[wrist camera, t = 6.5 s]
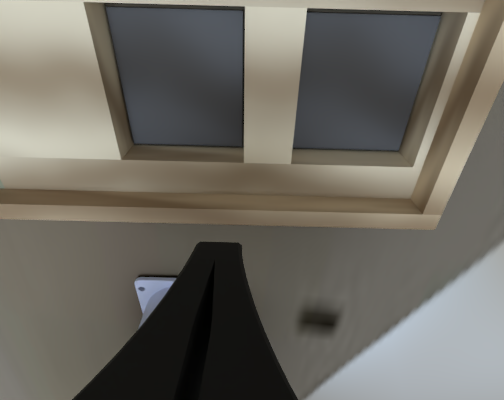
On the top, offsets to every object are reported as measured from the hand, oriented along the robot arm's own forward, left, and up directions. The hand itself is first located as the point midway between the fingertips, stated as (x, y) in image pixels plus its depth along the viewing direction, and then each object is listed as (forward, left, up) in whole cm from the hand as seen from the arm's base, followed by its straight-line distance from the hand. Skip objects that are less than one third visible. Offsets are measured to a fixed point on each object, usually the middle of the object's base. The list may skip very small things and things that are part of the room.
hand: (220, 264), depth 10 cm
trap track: (+4, +5, -9) cm, 11 cm away
